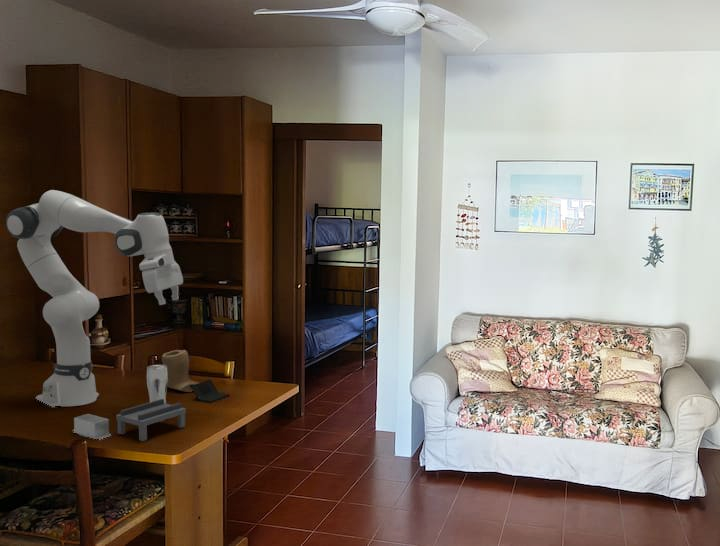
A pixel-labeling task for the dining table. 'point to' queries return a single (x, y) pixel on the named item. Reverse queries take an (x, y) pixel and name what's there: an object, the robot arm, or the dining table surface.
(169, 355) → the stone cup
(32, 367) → the dining table surface
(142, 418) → the stand
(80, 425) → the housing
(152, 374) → the beer glass
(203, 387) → the dark grey angled bracket
